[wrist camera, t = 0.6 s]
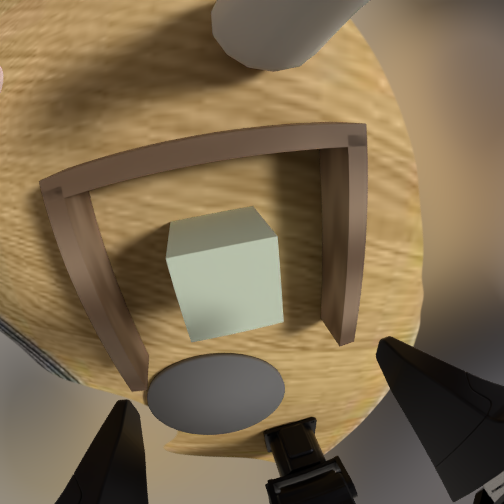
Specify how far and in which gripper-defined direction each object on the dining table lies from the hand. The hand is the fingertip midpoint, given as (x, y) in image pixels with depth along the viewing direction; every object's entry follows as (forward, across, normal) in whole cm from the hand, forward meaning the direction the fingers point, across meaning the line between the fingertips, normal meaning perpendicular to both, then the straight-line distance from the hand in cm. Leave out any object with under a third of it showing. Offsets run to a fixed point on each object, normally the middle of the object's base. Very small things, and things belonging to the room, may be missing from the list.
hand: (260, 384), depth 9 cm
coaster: (+10, +3, +15) cm, 18 cm away
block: (+10, 0, 0) cm, 11 cm away
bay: (+10, 0, 0) cm, 10 cm away
